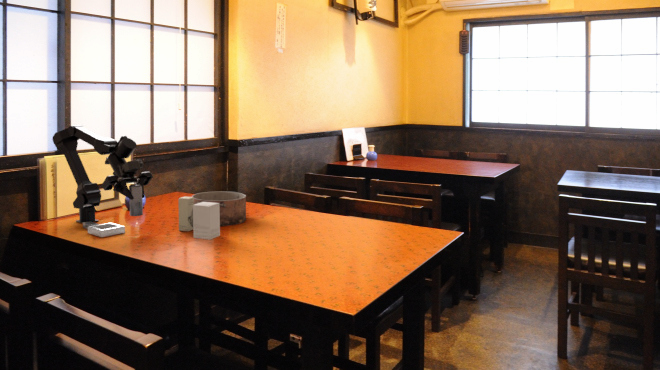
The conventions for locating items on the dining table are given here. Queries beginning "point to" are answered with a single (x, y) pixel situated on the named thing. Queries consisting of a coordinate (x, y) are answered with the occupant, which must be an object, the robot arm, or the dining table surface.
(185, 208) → the box
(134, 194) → the dark grey metal cylinder
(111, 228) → the square frame with handle
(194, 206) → the supplement box
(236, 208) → the cooking pot
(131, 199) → the robot arm
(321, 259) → the dining table surface
